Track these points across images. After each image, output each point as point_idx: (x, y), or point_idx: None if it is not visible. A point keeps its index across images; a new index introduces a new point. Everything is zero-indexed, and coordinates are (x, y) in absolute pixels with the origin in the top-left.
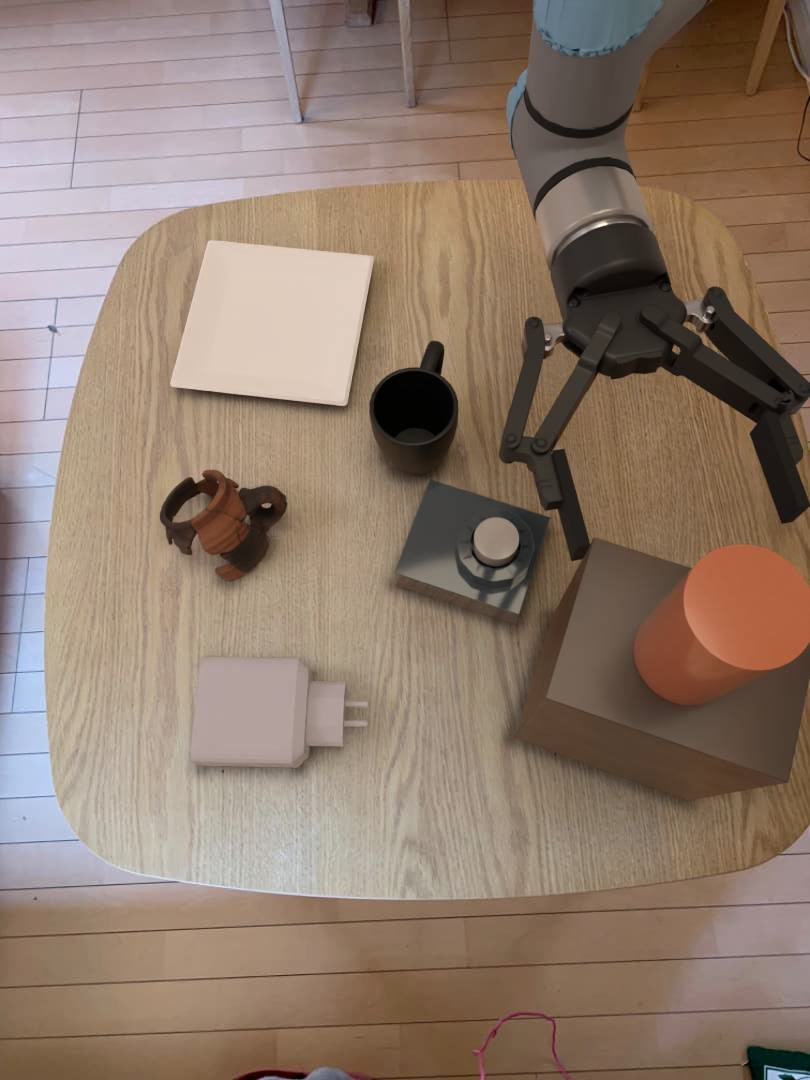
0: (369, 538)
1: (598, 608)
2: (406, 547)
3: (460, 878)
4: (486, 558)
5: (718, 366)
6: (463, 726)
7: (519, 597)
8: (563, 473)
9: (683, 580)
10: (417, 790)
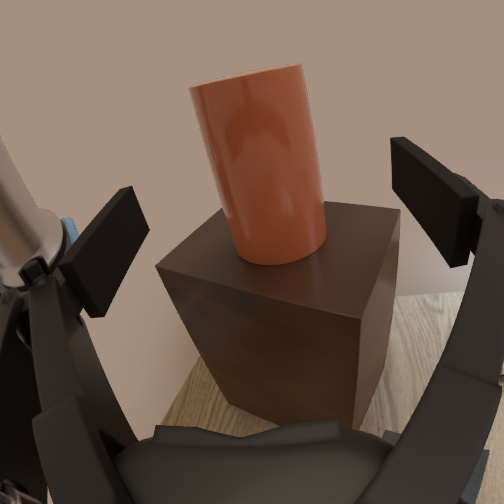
0: (496, 494)
1: (358, 258)
2: (482, 473)
3: (410, 299)
4: None
5: (57, 352)
6: (418, 371)
7: None
8: (448, 175)
9: (294, 83)
10: (441, 334)
